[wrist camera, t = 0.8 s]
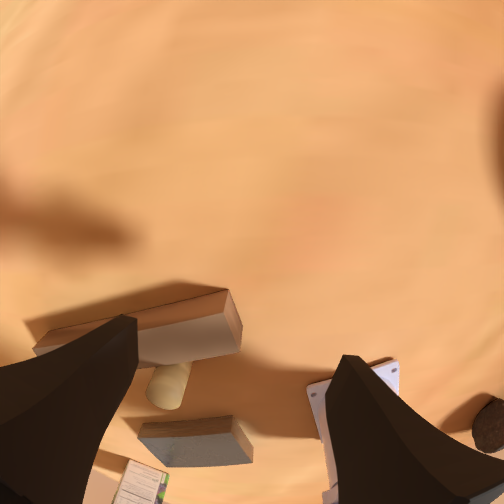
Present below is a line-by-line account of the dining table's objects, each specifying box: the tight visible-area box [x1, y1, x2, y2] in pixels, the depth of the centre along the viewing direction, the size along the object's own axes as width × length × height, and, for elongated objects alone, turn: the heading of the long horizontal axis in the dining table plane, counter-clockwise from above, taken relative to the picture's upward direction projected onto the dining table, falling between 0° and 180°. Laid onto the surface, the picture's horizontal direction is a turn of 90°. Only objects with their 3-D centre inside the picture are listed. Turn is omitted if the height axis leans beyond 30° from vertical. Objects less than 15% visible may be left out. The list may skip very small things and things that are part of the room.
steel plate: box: [137, 415, 253, 467], centre depth 25 cm, size 6×10×2 cm, turn 108°
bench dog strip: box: [32, 289, 243, 410], centre depth 19 cm, size 5×18×5 cm, turn 107°
